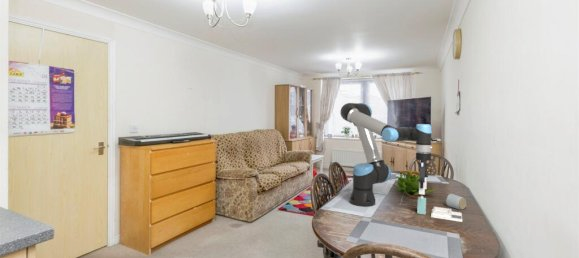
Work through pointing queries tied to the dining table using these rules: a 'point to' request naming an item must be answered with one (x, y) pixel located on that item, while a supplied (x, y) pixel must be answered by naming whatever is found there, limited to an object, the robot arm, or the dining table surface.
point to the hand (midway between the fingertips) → (422, 191)
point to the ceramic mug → (456, 202)
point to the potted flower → (410, 184)
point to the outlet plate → (446, 214)
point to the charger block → (421, 205)
